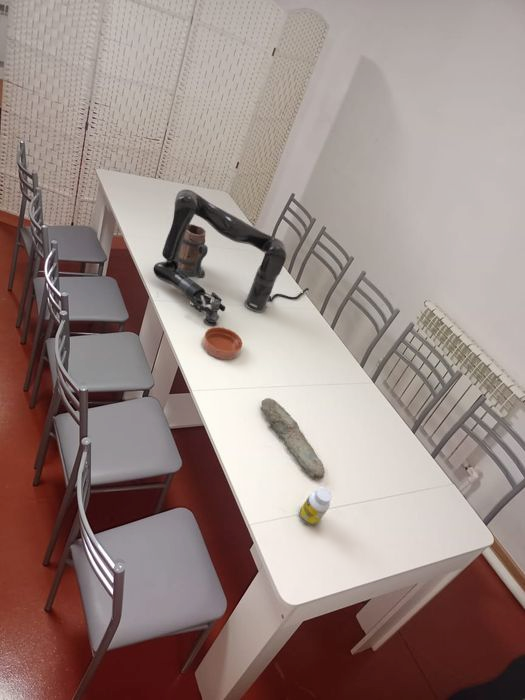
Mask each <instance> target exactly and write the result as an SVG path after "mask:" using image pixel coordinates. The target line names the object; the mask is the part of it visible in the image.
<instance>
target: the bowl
mask: <svg viewBox="0 0 525 700" xmlns="http://www.w3.org/2000/svg"><path fill="white" fill-rule="evenodd" d="M202 346H203V348H204V350H205V351H206V352H207V353H208V354H209V355H210V356H213V357H215V358H217V359H221V360H233V359H235V358H237V357H238V356H239V355H240V354H241V351H242V348H243V340H242V338H241V337H240V335H238V334H237V333H236V332H234V331H232V330H231V329H229V328H226V327H220V326H213V327H210V328H208V329H207V330H206V331H205V332H204V336H203V339H202Z"/></svg>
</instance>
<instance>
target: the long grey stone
mask: <svg viewBox="0 0 525 700" xmlns="http://www.w3.org/2000/svg"><path fill="white" fill-rule="evenodd" d="M261 412H263V416H264V417H265V419H266V420H267V422H268V423H269V428H271V429H272V430H273V431H274V432H275V433H276V435H277V437H278V438H279V439H280V440H281V441H282V442H283V444H284V446H285V447H286V448H287V449H286V450H287V451H289V454H290V455H292V457H293V458H294V459H295V462H297V464H298V465H299V467H300V468H301V469H302V470H303V471H304V473H305V474H306V475H308V476H309V478H311V479H313V480H321V479H323V478H324V476H325V474H326V473H325V467H324V464H323V462H322V460H321V459H320V458H319V456H318V455H317V453H316V452H315V450H314V448H313V447H312V446H311V444H310V443H309V441H308V440H307V438H306V437H305V435H304V433H303V432H302V431H301V429H300V427H299V423H298V422H297V421H296V420H295V419H294V418H293V417H292V416H291V414H290V413H289V412H287V410H286V409H285V408H284V407H283V406H282V405H281V404H280V403H278V402H277V401H276V400H275V399H274V398H271V397H270V398H269V397H267V398H264V399H263V400H262V401H261Z"/></svg>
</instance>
